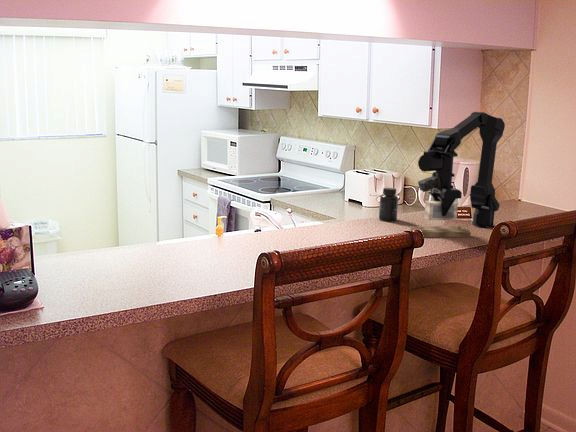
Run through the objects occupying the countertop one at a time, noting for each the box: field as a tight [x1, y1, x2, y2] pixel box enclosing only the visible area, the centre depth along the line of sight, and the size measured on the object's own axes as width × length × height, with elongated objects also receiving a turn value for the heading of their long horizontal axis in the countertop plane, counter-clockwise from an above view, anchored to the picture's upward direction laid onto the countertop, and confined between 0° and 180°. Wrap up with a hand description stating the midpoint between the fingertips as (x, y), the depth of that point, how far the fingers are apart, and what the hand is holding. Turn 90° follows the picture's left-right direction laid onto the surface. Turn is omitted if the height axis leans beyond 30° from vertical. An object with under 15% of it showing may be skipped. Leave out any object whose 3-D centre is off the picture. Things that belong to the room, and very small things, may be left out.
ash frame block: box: [423, 200, 459, 221], centre depth 234 cm, size 10×5×6 cm, turn 100°
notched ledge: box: [409, 225, 472, 238], centre depth 235 cm, size 18×10×2 cm, turn 100°
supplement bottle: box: [378, 187, 399, 222], centre depth 256 cm, size 7×7×12 cm
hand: (440, 214), depth 235 cm, fingers closed on ash frame block, 5 cm apart
